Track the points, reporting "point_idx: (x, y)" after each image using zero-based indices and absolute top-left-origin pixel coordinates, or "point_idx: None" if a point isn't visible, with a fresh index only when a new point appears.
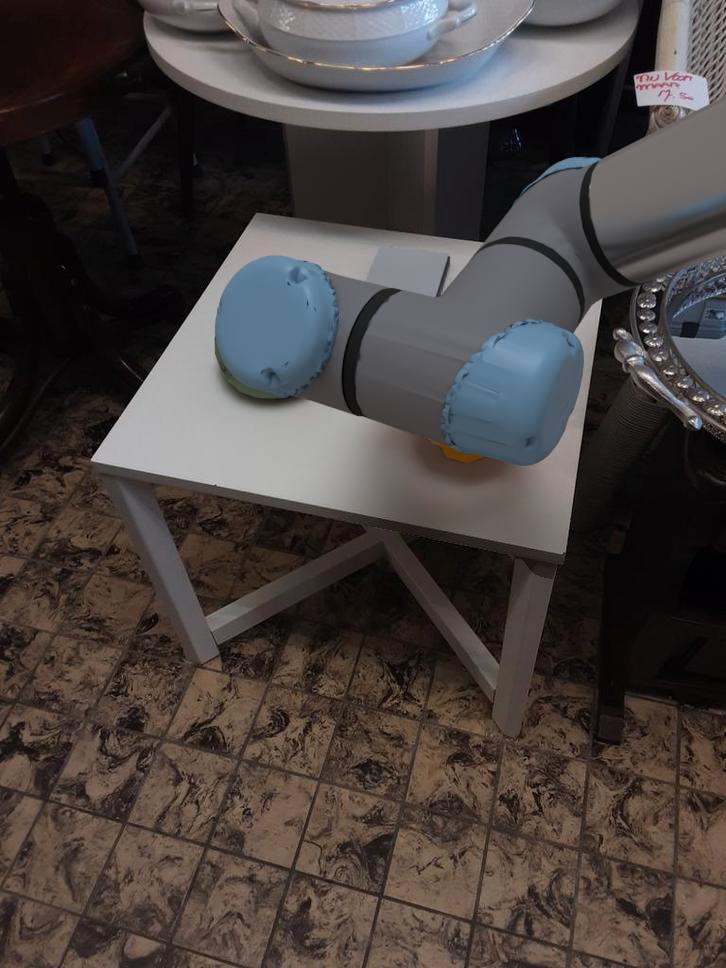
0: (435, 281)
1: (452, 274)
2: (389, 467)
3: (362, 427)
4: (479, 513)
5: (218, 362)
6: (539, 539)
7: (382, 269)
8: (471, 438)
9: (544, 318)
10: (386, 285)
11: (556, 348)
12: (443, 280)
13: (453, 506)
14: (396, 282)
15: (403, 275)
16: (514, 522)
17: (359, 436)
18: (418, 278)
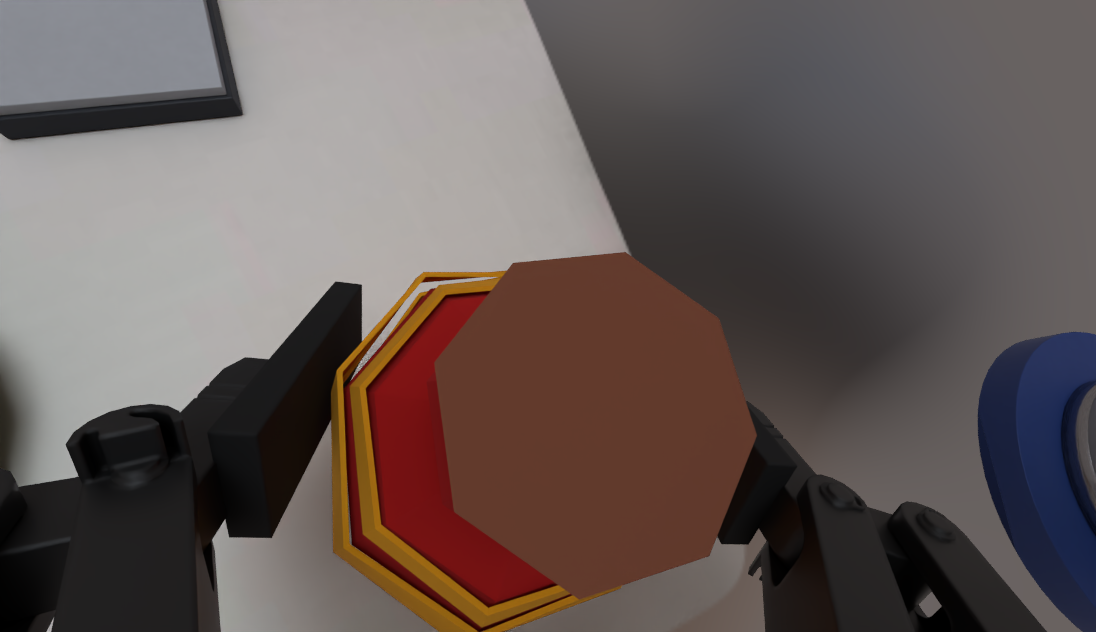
0: (198, 36)
1: (233, 9)
2: (361, 621)
3: (222, 544)
4: (611, 599)
5: None
6: (731, 578)
7: (15, 29)
8: None
9: None
10: (55, 78)
11: None
12: (219, 29)
13: (557, 622)
14: (83, 62)
15: (94, 36)
16: (676, 572)
17: (229, 578)
18: (145, 36)
